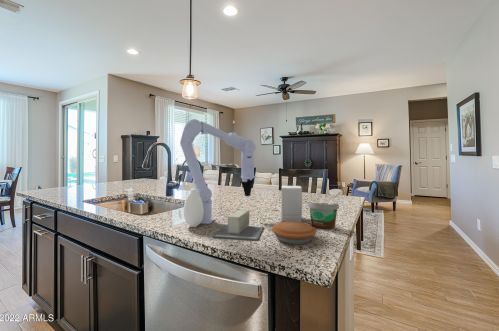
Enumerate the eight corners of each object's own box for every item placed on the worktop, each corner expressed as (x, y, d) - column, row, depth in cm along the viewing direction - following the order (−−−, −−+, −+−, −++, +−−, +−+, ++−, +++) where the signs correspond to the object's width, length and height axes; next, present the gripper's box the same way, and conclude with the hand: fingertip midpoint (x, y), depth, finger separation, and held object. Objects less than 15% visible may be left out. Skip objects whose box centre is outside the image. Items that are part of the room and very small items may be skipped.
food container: (304, 227, 97) (304, 202, 96) (308, 223, 102) (308, 200, 102) (336, 232, 91) (336, 205, 91) (338, 227, 96) (339, 203, 96)
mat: (212, 237, 85) (212, 236, 85) (224, 225, 99) (224, 224, 99) (257, 240, 82) (257, 238, 82) (263, 227, 96) (263, 226, 96)
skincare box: (239, 209, 100) (227, 216, 88) (249, 210, 98) (238, 216, 87) (239, 224, 100) (227, 233, 88) (250, 225, 98) (238, 234, 87)
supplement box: (302, 222, 104) (302, 188, 104) (281, 221, 106) (281, 187, 105) (300, 217, 113) (301, 185, 113) (281, 216, 115) (281, 185, 114)
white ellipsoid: (198, 230, 93) (198, 183, 93) (180, 228, 95) (179, 183, 94) (206, 224, 101) (206, 181, 100) (189, 223, 103) (188, 181, 102)
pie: (285, 229, 95) (285, 216, 95) (323, 237, 85) (324, 223, 85) (262, 239, 83) (262, 225, 83) (303, 251, 73) (304, 234, 73)
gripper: (253, 167, 103) (253, 198, 103) (258, 165, 117) (258, 193, 117) (237, 167, 104) (237, 198, 104) (244, 165, 118) (244, 193, 119)
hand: (247, 195), depth 111 cm, fingers closed
